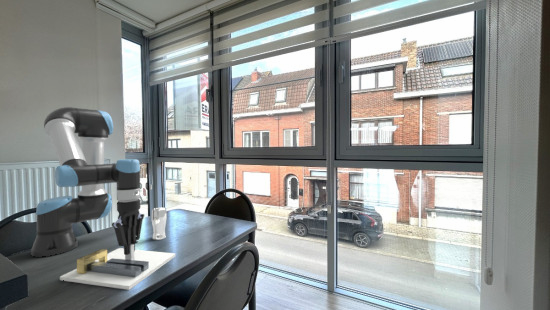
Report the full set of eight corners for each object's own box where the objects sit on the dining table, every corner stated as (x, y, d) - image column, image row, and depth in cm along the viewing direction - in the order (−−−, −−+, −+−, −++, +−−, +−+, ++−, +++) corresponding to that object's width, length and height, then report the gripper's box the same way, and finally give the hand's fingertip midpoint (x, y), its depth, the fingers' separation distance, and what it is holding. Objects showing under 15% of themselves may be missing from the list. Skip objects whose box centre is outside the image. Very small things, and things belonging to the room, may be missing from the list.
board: (60, 280, 80) (59, 276, 79) (119, 250, 103) (119, 248, 103) (129, 289, 74) (129, 286, 74) (175, 256, 98) (175, 253, 98)
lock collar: (77, 272, 82) (76, 259, 82) (101, 260, 91) (100, 248, 91) (83, 273, 81) (83, 260, 81) (107, 261, 90) (107, 249, 90)
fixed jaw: (78, 270, 84) (78, 263, 84) (85, 266, 86) (85, 260, 86) (135, 277, 79) (135, 270, 79) (141, 273, 82) (141, 266, 82)
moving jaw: (106, 267, 85) (106, 261, 85) (112, 264, 88) (112, 258, 88) (143, 271, 83) (143, 264, 83) (148, 267, 85) (148, 261, 85)
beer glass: (163, 234, 123) (162, 206, 123) (169, 237, 119) (169, 208, 119) (149, 238, 118) (149, 209, 118) (155, 241, 113) (155, 211, 113)
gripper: (122, 204, 80) (123, 271, 80) (150, 196, 93) (150, 254, 93) (104, 203, 81) (105, 269, 82) (134, 196, 94) (134, 253, 95)
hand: (129, 261), depth 88 cm, fingers closed
